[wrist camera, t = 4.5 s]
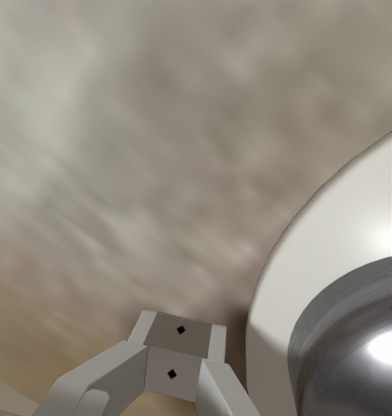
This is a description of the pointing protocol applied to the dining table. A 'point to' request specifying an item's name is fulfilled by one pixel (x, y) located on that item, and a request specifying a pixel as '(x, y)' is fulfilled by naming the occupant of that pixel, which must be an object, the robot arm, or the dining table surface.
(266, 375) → the turntable
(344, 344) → the cover
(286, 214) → the dining table surface
